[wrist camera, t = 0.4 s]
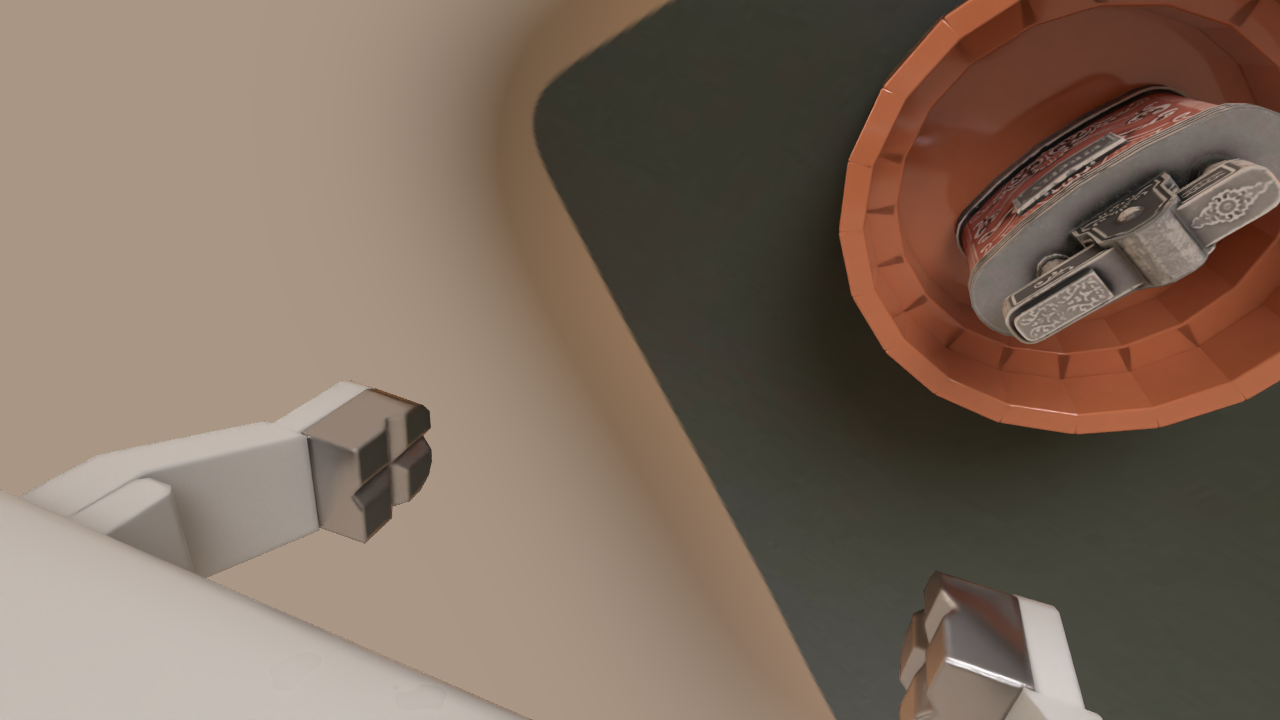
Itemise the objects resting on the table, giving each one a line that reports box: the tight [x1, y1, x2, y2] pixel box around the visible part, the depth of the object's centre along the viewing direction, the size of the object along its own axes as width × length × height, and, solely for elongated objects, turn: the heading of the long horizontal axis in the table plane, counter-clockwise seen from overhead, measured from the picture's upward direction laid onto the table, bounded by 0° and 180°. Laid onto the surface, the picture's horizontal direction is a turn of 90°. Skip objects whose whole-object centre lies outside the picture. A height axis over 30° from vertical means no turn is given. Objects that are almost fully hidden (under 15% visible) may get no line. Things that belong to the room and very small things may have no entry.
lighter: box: [955, 85, 1280, 344], centre depth 20 cm, size 8×3×10 cm, turn 136°
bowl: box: [839, 0, 1280, 434], centre depth 22 cm, size 15×15×6 cm
